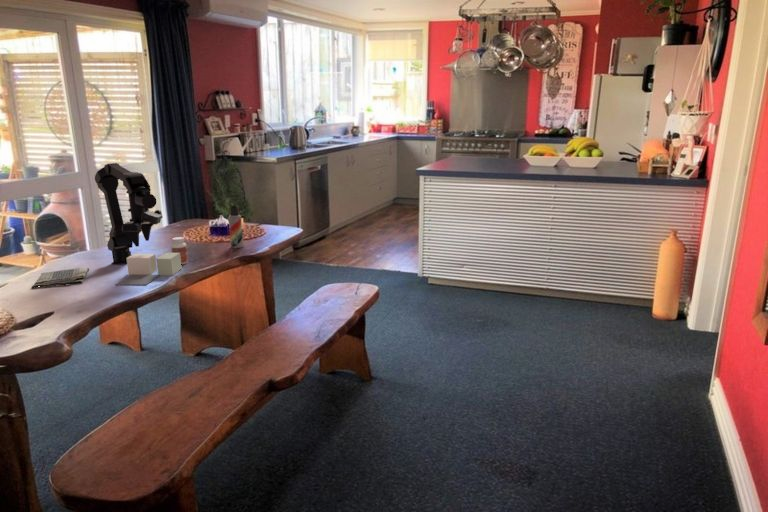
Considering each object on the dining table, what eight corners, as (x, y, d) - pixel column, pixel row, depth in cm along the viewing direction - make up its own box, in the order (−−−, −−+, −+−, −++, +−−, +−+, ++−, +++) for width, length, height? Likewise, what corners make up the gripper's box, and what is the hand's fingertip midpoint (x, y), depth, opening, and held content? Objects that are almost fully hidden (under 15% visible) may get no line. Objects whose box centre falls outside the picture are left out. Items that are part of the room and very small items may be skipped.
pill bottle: (190, 263, 241) (187, 238, 238) (175, 265, 238) (172, 240, 235) (186, 260, 246) (183, 235, 243) (171, 262, 243) (168, 237, 240)
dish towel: (41, 276, 226) (39, 269, 226) (90, 271, 232) (89, 264, 232) (31, 290, 210) (29, 282, 209) (84, 285, 216) (83, 277, 215)
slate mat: (115, 285, 214) (115, 284, 214) (131, 275, 225) (130, 274, 225) (146, 285, 213) (146, 284, 213) (160, 275, 225) (160, 274, 224)
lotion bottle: (231, 248, 264) (227, 206, 259) (230, 245, 270) (227, 204, 264) (243, 247, 266) (240, 206, 260) (243, 244, 271) (239, 204, 266)
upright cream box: (128, 274, 226) (126, 258, 224) (135, 270, 232) (133, 253, 230) (150, 274, 226) (148, 258, 224) (157, 270, 232) (155, 254, 230)
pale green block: (172, 275, 225) (170, 258, 223) (158, 275, 225) (156, 258, 223) (181, 268, 233) (180, 252, 231) (167, 268, 234) (165, 252, 232)
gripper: (147, 210, 213) (152, 249, 217) (167, 201, 231) (171, 237, 235) (118, 210, 213) (124, 249, 218) (140, 201, 231) (145, 237, 236)
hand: (142, 243), depth 227 cm, fingers open, 9 cm apart
